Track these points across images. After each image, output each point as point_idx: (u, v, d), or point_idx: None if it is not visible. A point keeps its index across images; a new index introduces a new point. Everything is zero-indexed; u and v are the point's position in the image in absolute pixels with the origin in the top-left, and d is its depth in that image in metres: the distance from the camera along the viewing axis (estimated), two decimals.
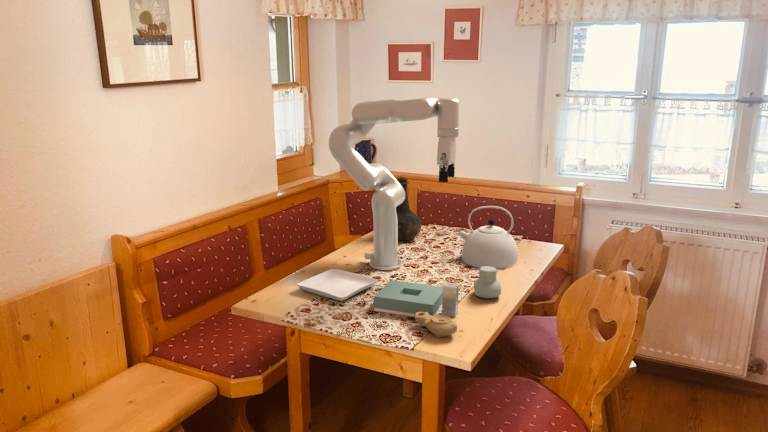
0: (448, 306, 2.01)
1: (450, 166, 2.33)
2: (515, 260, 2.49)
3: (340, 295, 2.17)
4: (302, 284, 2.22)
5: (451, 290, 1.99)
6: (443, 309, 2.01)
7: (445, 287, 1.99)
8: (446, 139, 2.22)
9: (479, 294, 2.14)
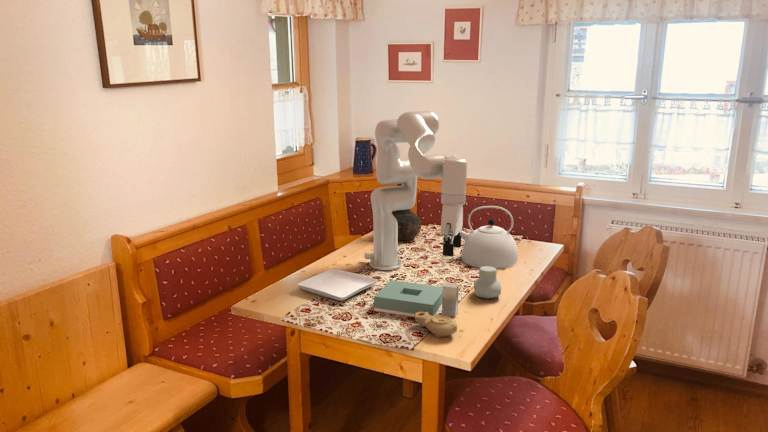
0: (448, 306, 2.01)
1: (456, 235, 2.00)
2: (515, 260, 2.49)
3: (340, 295, 2.17)
4: (302, 284, 2.22)
5: (451, 290, 1.99)
6: (443, 309, 2.01)
7: (445, 287, 1.99)
8: (451, 207, 1.89)
9: (479, 294, 2.14)
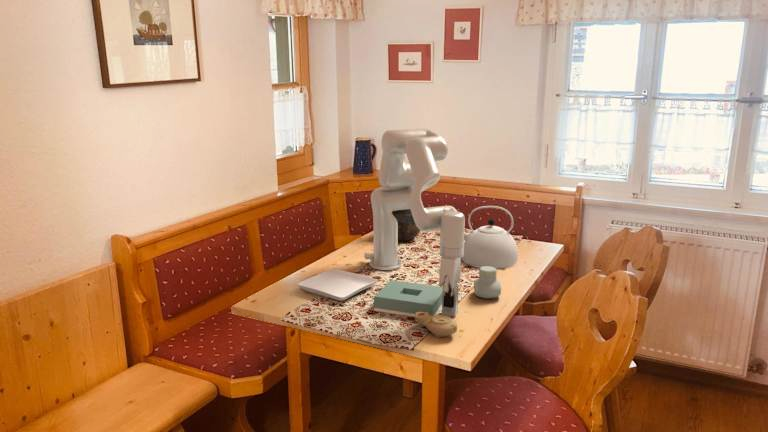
0: None
1: None
2: (515, 260, 2.49)
3: (340, 295, 2.17)
4: (302, 284, 2.22)
5: None
6: (443, 309, 2.01)
7: None
8: (450, 260, 1.93)
9: (479, 294, 2.14)
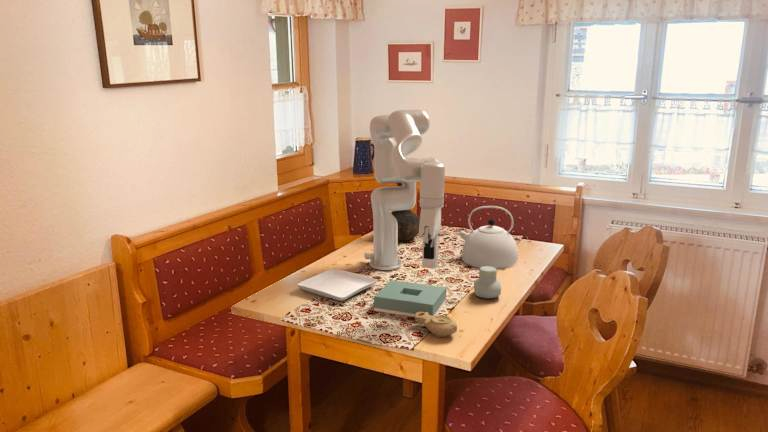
0: None
1: None
2: (515, 260, 2.49)
3: (340, 295, 2.17)
4: (302, 284, 2.22)
5: None
6: (423, 261, 2.01)
7: None
8: (429, 210, 1.93)
9: (479, 294, 2.14)
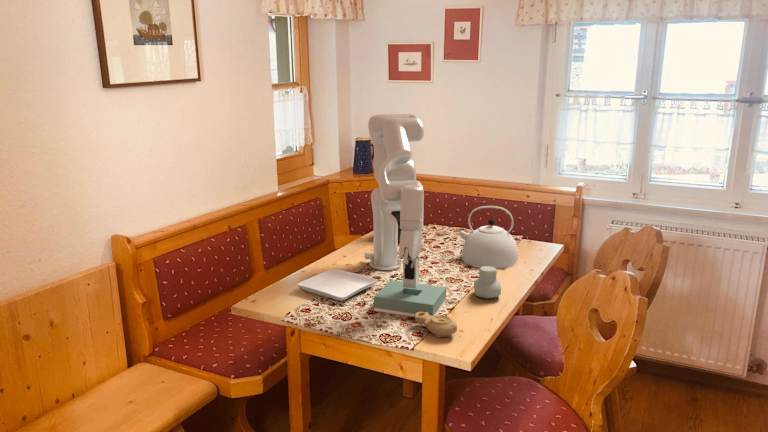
0: None
1: None
2: (515, 260, 2.49)
3: (340, 295, 2.17)
4: (302, 284, 2.22)
5: None
6: (404, 281, 2.06)
7: None
8: (409, 232, 1.98)
9: (479, 294, 2.14)
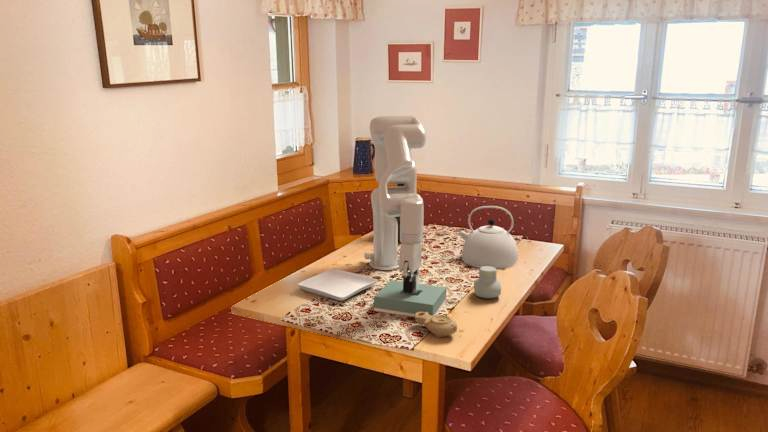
0: (408, 294, 2.07)
1: None
2: (515, 260, 2.49)
3: (340, 295, 2.17)
4: (302, 284, 2.22)
5: None
6: None
7: None
8: (409, 246, 1.99)
9: (479, 294, 2.14)
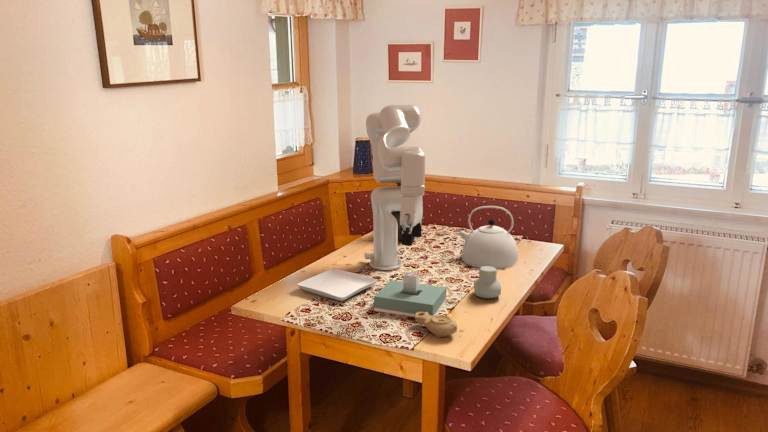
0: (408, 294, 2.07)
1: (416, 225, 2.07)
2: (515, 260, 2.49)
3: (340, 295, 2.17)
4: (302, 284, 2.22)
5: (411, 279, 2.05)
6: None
7: (406, 276, 2.06)
8: (410, 198, 1.96)
9: (479, 294, 2.14)
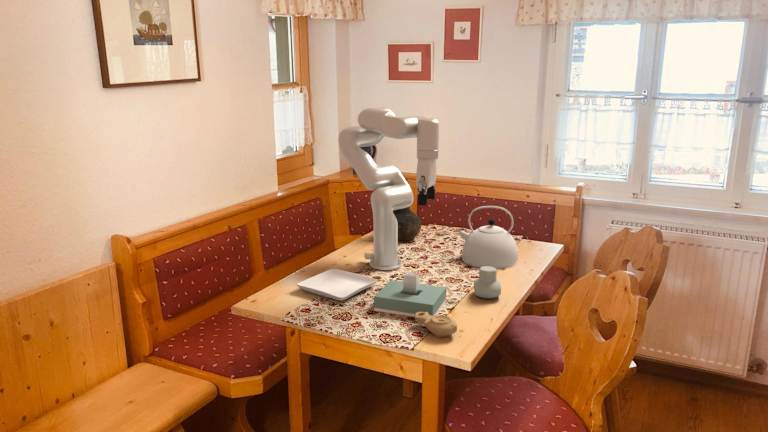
0: (408, 294, 2.07)
1: (430, 188, 2.26)
2: (515, 260, 2.49)
3: (340, 295, 2.17)
4: (302, 284, 2.22)
5: (411, 279, 2.05)
6: None
7: (406, 276, 2.06)
8: (425, 161, 2.15)
9: (479, 294, 2.14)
